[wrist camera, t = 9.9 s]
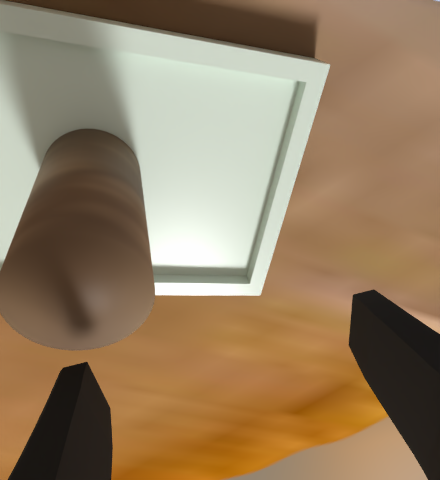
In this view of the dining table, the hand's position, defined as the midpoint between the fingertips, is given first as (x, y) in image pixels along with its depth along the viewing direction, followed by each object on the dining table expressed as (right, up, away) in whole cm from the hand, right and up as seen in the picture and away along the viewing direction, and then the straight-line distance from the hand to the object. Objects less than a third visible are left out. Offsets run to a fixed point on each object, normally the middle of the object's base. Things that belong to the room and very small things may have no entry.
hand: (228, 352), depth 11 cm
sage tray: (-6, +6, +7) cm, 11 cm away
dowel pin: (-6, +6, +6) cm, 10 cm away
